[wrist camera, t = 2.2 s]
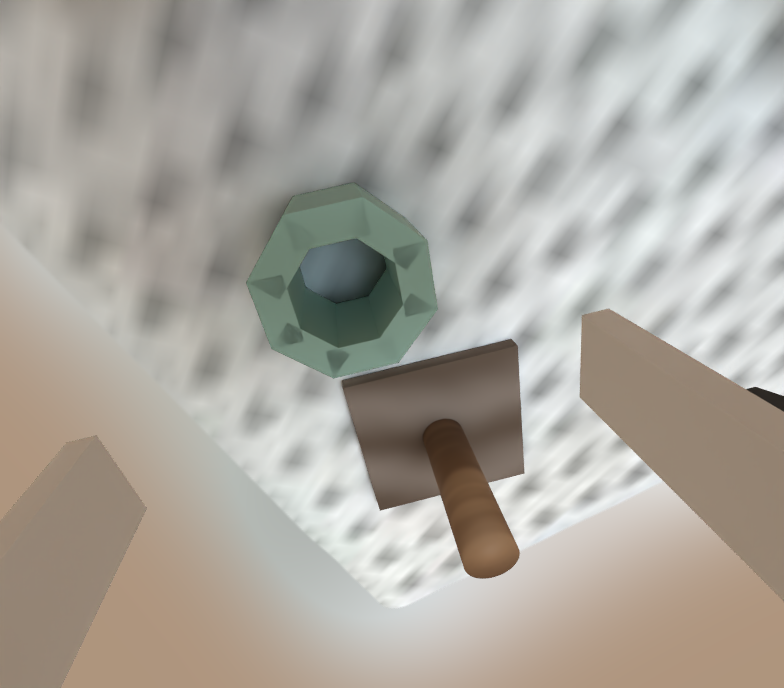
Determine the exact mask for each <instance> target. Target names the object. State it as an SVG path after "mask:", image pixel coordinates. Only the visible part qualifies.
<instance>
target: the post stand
mask: <svg viewBox="0 0 784 688" xmlns="http://www.w3.org/2000/svg"><path fill="white" fill-rule="evenodd" d="M342 381H343V390H344V393H345V397H346V400H347V403H348V407H349V410H350V413H351V416H352V420H353V423H354V426H355V430H356V433H357V436H358V439H359V443H360V446H361V449H362V453H363V456H364V459H365V463H366V466H367V469H368V472H369V476H370V479H371V482H372V486H373V489H374V492H375V496H376V499H377V502H378V505H379V509H380V510H384V509H388V508H392V507H396V506H400V505H403V504H407V503H411V502H415V501H419V500H423V499H427V498H431V497H435V496H438V495H441V498H442V501H443V504H444V507H445V510H446V513H447V516H448V519H449V523H450V526H451V529H452V532H453V535H454V538H455V541H456V544H457V548H458V551H459V554H460V557H461V560H462V563H463V566H464V569H465V571H466V573H467V574H469V575H470V576H472V577H475V578H492V577H495V576H498V575H501V574H503V573H505V572H506V571H508V570H509V569H511V568H512V567H513V566H514V565H515V564H516V562H517V560H518V558H519V553H520V552H519V549H518V546H517V544H516V542H515V540H514V538H513V536H512V534H511V531H510V529H509V527H508V525H507V523H506V521H505V519H504V516H503V514H502V512H501V510H500V508H499V506H498V504H497V501H496V499H495V497H494V495H493V493H492V491H491V489H490V487H489V484H488V483H489V482H493V481H497V480H500V479H504V478H508V477H512V476H516V475H520V474H524V458H523V439H522V420H521V401H520V382H519V363H518V346H517V345H516V343H515V342H514V341H513V340H512V339H510V340H506V341H502V342H498V343H494V344H490V345H486V346H482V347H478V348H474V349H469V350H465V351H461V352H457V353H453V354H449V355H445V356H441V357H437V358H433V359H428V360H424V361H420V362H416V363H412V364H408V365H404V366H400V367H396V368H392V369H388V370H383V371H379V372H375V373H371V374H367V375H363V376H359V377H355V378H351V379H347V380H342Z"/></svg>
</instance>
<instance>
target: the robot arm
mask: <svg viewBox="0 0 784 688" xmlns="http://www.w3.org/2000/svg"><path fill="white" fill-rule="evenodd" d="M580 398H581V399H582V400H583V401H584V402H585V403H586V404H587V405H588V406H589V407H590V408H591V409H592V410H593V411H594V412H595V413H596V414H597V415H598V416H599V417H600V418H601V419H602V420H603V421H604V422H605V423H606V424H607V425H608V426H609V427H610V428H611V429H612V430H613V431H614V432H615V433H616V434H617V435H618V436H619V437H620V438H621V439H622V440H623V441H624V442H625V443H626V444H627V445H628V446H629V447H630V448H631V449H632V450H633V451H634V452H635V453H636V454H637V455H638V456H639V457H640V458H641V459H642V460H643V461H644V462H645V463H646V464H647V465H648V466H649V467H650V468H651V469H652V470H653V471H654V472H655V473H656V474H657V475H658V476H659V477H660V478H661V479H662V480H663V481H664V482H665V483H666V484H667V485H668V486H669V487H670V488H671V489H672V490H673V491H674V492H675V493H676V494H677V495H678V496H679V497H680V498H681V499H682V500H683V501H684V502H685V503H686V504H687V505H688V506H689V507H690V508H691V509H692V510H693V511H694V512H695V513H696V514H697V515H698V516H699V517H700V518H701V519H702V520H703V521H704V522H705V523H706V524H707V525H708V526H709V527H710V528H711V529H712V530H713V531H714V532H715V533H716V534H717V535H718V536H719V537H720V538H721V539H722V540H723V541H724V542H725V543H726V544H727V545H728V546H729V547H730V548H731V549H732V550H733V551H734V552H735V553H736V554H737V555H738V556H739V557H740V558H741V559H742V560H743V561H744V562H745V563H746V564H747V565H748V566H749V567H750V568H751V569H752V570H753V571H754V572H755V573H756V574H757V575H758V576H759V577H760V578H761V579H762V580H763V581H764V582H765V583H766V584H767V585H768V586H769V587H770V588H771V589H772V590H773V591H774V592H775V593H776V594H777V595H778V596H779V597H780V598H781V599H782V600H783V601H784V396H782V395H779V394H776V393H773V392H770V391H767V390H764V389H761V388H758V387H753V388H749V389H744V388H743V387H741V386H739V385H737V384H736V383H734V382H732V381H731V380H729V379H727V378H726V377H724V376H722V375H721V374H719V373H717V372H715V371H714V370H712V369H710V368H709V367H707V366H705V365H704V364H702V363H700V362H698V361H697V360H695V359H693V358H692V357H690V356H688V355H687V354H685V353H683V352H682V351H680V350H678V349H676V348H675V347H673V346H671V345H670V344H668V343H666V342H665V341H663V340H661V339H659V338H658V337H656V336H654V335H653V334H651V333H649V332H648V331H646V330H644V329H643V328H641V327H639V326H637V325H636V324H634V323H632V322H631V321H629V320H627V319H626V318H624V317H622V316H621V315H619V314H617V313H615V312H614V311H612V310H610V309H605V310H601V311H597V312H593V313H589V314H585V315H582V333H581V369H580ZM146 508H147V507H146V506H145V505H144V503H143V502H142V500H141V499H140V497H139V496H138V494H137V493H136V492H135V490H134V489H133V487H132V486H131V484H130V483H129V482H128V480H127V478H126V477H125V476H124V474H123V473H122V471H121V470H120V468H119V467H118V465H117V464H116V463H115V461H114V460H113V458H112V457H111V455H110V454H109V452H108V451H107V450H106V448H105V447H104V445H103V444H102V442H101V441H100V440H99V438H98V437H97V436H91V437H88V438H83V439H79V440H75V441H72V442H67V443H66V444H65V445H64V446H63V448H62V449H61V450H60V451H59V452H58V454H57V455H56V456H55V457H54V458H53V459H52V460H51V462H50V463H49V464H48V465H47V466H46V468H45V469H44V470H43V471H42V472H41V473H40V475H39V476H38V477H37V478H36V479H35V481H34V482H33V483H32V484H31V485H30V487H29V488H28V489H27V490H26V491H25V492H24V493H23V495H22V496H21V497H20V498H19V499H18V501H17V502H16V503H15V504H14V505H13V506H12V508H11V509H10V510H9V511H8V512H7V513H6V515H5V516H4V517H3V518H2V519H1V521H0V688H61V686H62V684H63V682H64V680H65V678H66V676H67V674H68V672H69V670H70V667H71V666H72V664H73V661H74V659H75V657H76V655H77V653H78V651H79V649H80V647H81V645H82V643H83V640H84V638H85V636H86V634H87V632H88V630H89V628H90V626H91V624H92V622H93V620H94V618H95V615H96V613H97V611H98V609H99V607H100V605H101V603H102V601H103V599H104V597H105V594H106V592H107V590H108V588H109V586H110V584H111V582H112V580H113V578H114V576H115V574H116V572H117V570H118V567H119V565H120V563H121V561H122V559H123V557H124V555H125V553H126V551H127V549H128V547H129V545H130V542H131V540H132V538H133V536H134V534H135V532H136V530H137V528H138V526H139V524H140V522H141V520H142V517H143V515H144V513H145V511H146Z"/></svg>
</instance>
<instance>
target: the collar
mask: <svg viewBox="0 0 784 688" xmlns="http://www.w3.org/2000/svg"><path fill="white" fill-rule="evenodd" d="M355 238H356V239H358V240H360V241H361V242H363V243H364V244H366V245H368V246H369V247H371V248H372V249H374V250H376V251H377V252H379V253H380V254H382V255H384V258H385V263H386V268H387V269H386V270H385V272H384V273H383V275H382V276H381V278H380V279H379V281H378V282H377V284H376V285H375V287H374V288H373V290H372V291H371V293H370V294H369V296H367V297H363V298H358V299H354V300H350V301H346V302H342V303H337V304H335V303H333V302H331V301H330V300H328V299H326V298H324V297H322V296H321V295H319V294H317V293H315V292H313V291H311V290H310V289H308V288H306V287H305V283H304V280H303V277H302V274H301V271H300V267H299V266H300V264H301V263H302V261H303V259H304V258H305V256H306V254H307V252H308V251H309V249H312V248H316V247H320V246H325V245H329V244H333V243H338V242H342V241H346V240H351V239H355ZM246 284H247V286H248V289H249V291H250V294H251V297H252V299H253V302H254V304H255V307H256V310H257V312H258V315H259V317H260V320H261V323H262V325H263V328H264V330H265V333H266V336H267V338H268V341H269V344H270V346H271V349H273V350H275V351H277V352H279V353H281V354H283V355H285V356H287V357H290V358H292V359H294V360H296V361H298V362H300V363H302V364H304V365H306V366H309V367H311V368H313V369H315V370H317V371H319V372H321V373H323V374H325V375H328V376H330V377H332V378H337V377H341V376H346V375H350V374H354V373H358V372H362V371H366V370H370V369H374V368H378V367H383V366H387V365H391V364H395V363H399V361H400V360H401V359H402V357H403V356H404V355H405V353H406V352H407V350H408V349H409V348H410V346H411V345H412V344H413V342H414V341H415V340H416V338H417V337H418V335H419V334H420V333H421V331H422V330H423V329H424V327H425V326H426V325H427V323H428V322H429V320H430V319H431V318H432V316H433V315H434V314H435V312H436V311H437V309H438V308H437V301H436V295H435V288H434V281H433V275H432V268H431V262H430V255H429V249H428V242H427V240H426V239H425V238H424V237H423V236H422V235H421V234H420V233H419V231H418V230H417V229H416V228H415V227H414V226H413V225H412V224H411V223H410V222H409V221H408V220H407V219H406V218H405V217H404V216H402V215H401V214H399V213H398V212H396V211H395V210H393V209H392V208H390V207H389V206H388V205H386V204H385V203H383V202H382V201H380V200H379V199H377V198H376V197H374V196H373V195H372V194H370V193H369V192H367V191H366V190H364V189H363V188H361V187H360V186H358V185H357V184H355V183H349V184H345V185H340V186H336V187H331V188H327V189H322V190H318V191H314V192H309V193H305V194H300V195H296V196H293V197H292V199H291V200H290V202H289V204H288V206H287V208H286V210H285V212H284V213H283V215H282V217H281V219H280V221H279V223H278V225H277V226H276V228H275V230H274V232H273V234H272V236H271V238H270V239H269V241H268V243H267V245H266V247H265V249H264V250H263V252H262V254H261V256H260V258H259V260H258V262H257V263H256V265H255V267H254V269H253V271H252V273H251V275H250V276H249V278H248V280H247V282H246Z"/></svg>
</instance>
